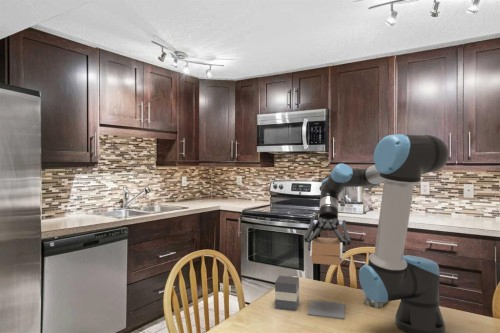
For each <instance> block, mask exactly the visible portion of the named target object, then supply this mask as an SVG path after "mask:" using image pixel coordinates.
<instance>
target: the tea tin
mask: <svg viewBox="0 0 500 333" xmlns="http://www.w3.org/2000/svg"><path fill="white" fill-rule="evenodd" d="M299 304H300V277H298V276H289V275H288V276H287V275H278V277H277V278H276V280H275V282H274V308H275V309H278V310H285V311H294V312H296V311H297V310H298V306H299Z"/></svg>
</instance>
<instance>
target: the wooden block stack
mask: <svg viewBox="0 0 500 333" xmlns="http://www.w3.org/2000/svg"><path fill="white" fill-rule="evenodd" d="M340 242H341V241H340V239H338V238H337V237H335V238H334V237H320V236H317V237H316V238H314V239H313V241H312V260H311V264H316V265H317V264H319V265H329V266H330V265H331V266H341V262H340Z"/></svg>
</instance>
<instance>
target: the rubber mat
mask: <svg viewBox="0 0 500 333" xmlns="http://www.w3.org/2000/svg"><path fill="white" fill-rule="evenodd" d="M345 314H346V303H344V302H343V303H342V302H341V303H340V302H332V301H324V300H316V299H315V300H312V299H311V300H310V303H309V307H308V310H307V316H313V317H321V318H329V319H337V320H345V319H346V318H345V317H346V315H345Z"/></svg>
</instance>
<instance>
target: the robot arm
mask: <svg viewBox="0 0 500 333" xmlns="http://www.w3.org/2000/svg"><path fill="white" fill-rule="evenodd" d="M449 158H450V151H449V147H448V145H447V144H446V143H445V141H444V140H442V139H441V138H440V137H437V136H435V135H431V134H429V135H427V134H425V135H424V134H401V133H398V134H389V135H386V136H384V137H383V138H382V139H381V140H379V142H377V145H376V147H375V149H374V153H373V163H374V164H373V165H371V166H368V167H364V168H352V167H351V166H349V165H348V164H345V163H338V164H336V166H335V167H334V168H333V169H332V170H331V171H330V172H331V173H330V174H329V176H328V177H326V178H324V179H323V180H322V181H321V185H320V197H319V198H320V199H319V209H318V210H319V211H318V218H317V219H314V218H310V222H309V226H308V228H307V229H306V232H305V234H304V236H303V240H304V242H305V243H307V249H308V251H310V253H309V258H310V260H311V261H312V241H313V239H314V238H316V237H319V235H320V234H321V233H322V232H323V231H325V232H326V231H329V232H333V233H334V234H335V236H336V238H338V239H340V241H341V242H340V263H342V262H343V254H346V251H347V250H346V249H347V248H346V247H347V246H351V240H352V239H351V238H350V234H349V232H348V228H347V223H346V222H347V221H346V220H345V219H344V220H339V197H340V193H341V192H342V191H343V190H344V188H362V187H364V188H365V187H367V188H368V187H370V188H372V187H373V188H374V187H377V186H380V185H381V184H383V187H382V195H381V200H380V201H381V203H380V210H379V217H378V223H377V224H378V225H377V232H376V241H375V248H374V252H372V253H370V255H369V256H368V262H367V264H364V265H362V266H361V267H360V268H359V272H358V277H359V278H358V279H359V283H360V284H359V285H360V286H361V290H362V291H363V293H364V295H366V296H367V297H368V298H369V299H370V300H372V301H374V302H386V303H388V302H392V301H398V300H399V301H400V302H399V305H398V307H397V310H396V313H395V319H394V320H395V324H396V326H397V327H398V328H399V329H400V330H402V331H403V332H406V333H445V332H446V323H445V320H444V318H443V314H442V311H441V308H440V281H441V279H440V278H441V277H440V276H441V275H440V267H439V264H438V263H437V262H436V261H434V260H432V259H429V258H426V257H423V256H422V257H421V256H418V255H410V254H408V255H407V254H406V255H405V248H406V241H407V234H408V227H409V221H410V215H411V210H412V207H411V206H412V202H413V194H414V188H415V186H416V185H418V184H419V183H421V179H422V175H424V174H429V173H434V172H435V173H436V172H438V171H440V170H442V169H443V168H444V167H445V166H446V165H447V163H448V162H449ZM316 225H318V226H317V227H316V229H315V230H314V227H315V226H316ZM338 226H340V228H342V232H343V235H344V237H343V235H342V234H341V232H340V230H339V229H338ZM313 230H314V231H313ZM387 301H388V302H387Z"/></svg>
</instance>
